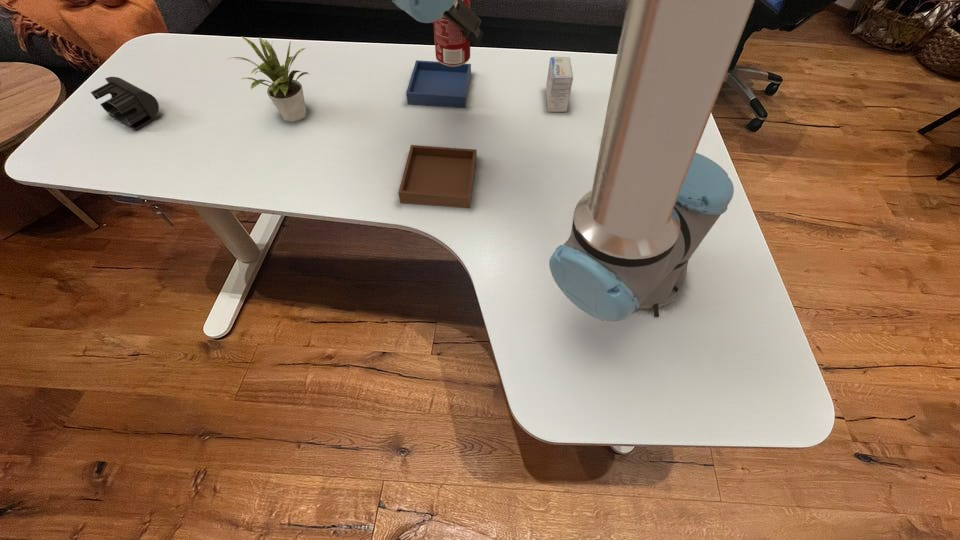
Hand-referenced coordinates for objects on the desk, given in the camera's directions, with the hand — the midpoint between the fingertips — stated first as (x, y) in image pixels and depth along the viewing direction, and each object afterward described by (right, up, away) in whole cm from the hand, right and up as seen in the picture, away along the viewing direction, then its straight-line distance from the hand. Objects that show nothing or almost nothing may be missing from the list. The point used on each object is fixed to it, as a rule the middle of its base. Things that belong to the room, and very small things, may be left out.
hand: (463, 33), depth 84 cm
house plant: (-39, -12, +11) cm, 42 cm away
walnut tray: (-5, -29, +1) cm, 29 cm away
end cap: (-71, -12, +10) cm, 73 cm away
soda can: (-2, -5, +1) cm, 5 cm away
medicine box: (+21, -7, +16) cm, 27 cm away
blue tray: (-6, -3, +18) cm, 19 cm away
